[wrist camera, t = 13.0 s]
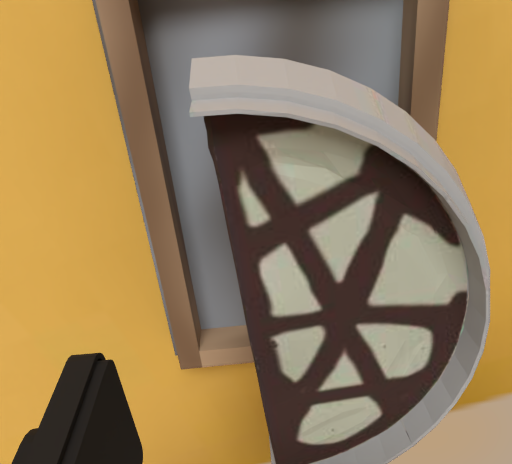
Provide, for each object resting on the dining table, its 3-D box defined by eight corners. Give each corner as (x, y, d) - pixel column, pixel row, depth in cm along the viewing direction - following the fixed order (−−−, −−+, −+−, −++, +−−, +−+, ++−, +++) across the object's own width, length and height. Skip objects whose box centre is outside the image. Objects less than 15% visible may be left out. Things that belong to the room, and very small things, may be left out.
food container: (392, 281, 23) (492, 485, 14) (260, 300, 23) (277, 512, 14) (388, -14, 16) (560, 19, 8) (209, 16, 17) (181, 80, 8)
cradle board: (444, -105, 16) (477, -115, 14) (410, 319, 25) (427, 353, 23) (85, -66, 16) (61, -70, 14) (177, 341, 25) (172, 377, 23)
